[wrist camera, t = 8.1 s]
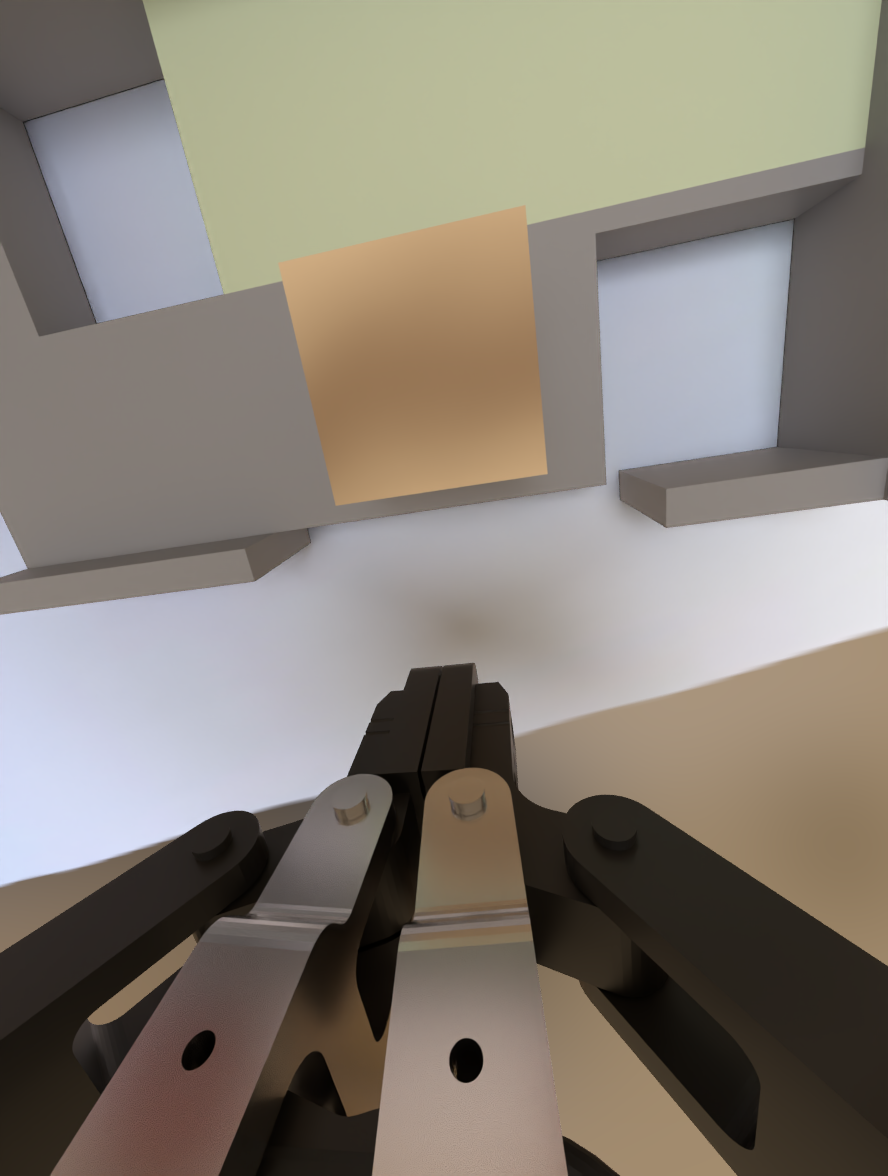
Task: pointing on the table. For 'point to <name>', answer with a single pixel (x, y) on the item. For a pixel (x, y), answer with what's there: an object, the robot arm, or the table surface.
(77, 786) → the table surface
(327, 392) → the oak block
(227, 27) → the tray
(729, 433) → the table surface
